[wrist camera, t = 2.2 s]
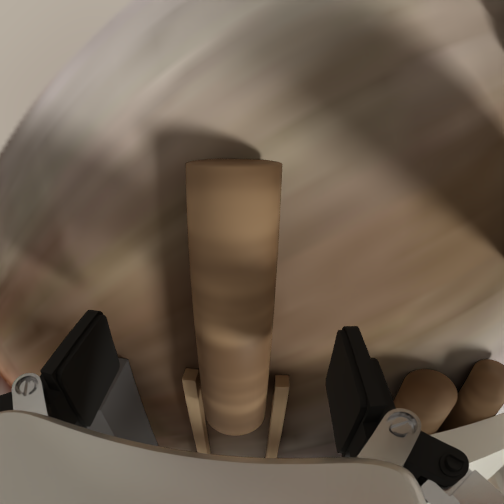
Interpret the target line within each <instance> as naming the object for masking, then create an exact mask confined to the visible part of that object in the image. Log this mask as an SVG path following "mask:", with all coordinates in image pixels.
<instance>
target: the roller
mask: <svg viewBox="0 0 504 504" xmlns="http://www.w3.org/2000/svg"><path fill="white" fill-rule="evenodd" d="M281 181H282V163H280V162H276V161H269V160H260V159H204V160H196V161H190V162H187V163H186V201H187V226H188V246H189V263H190V277H191V291H192V303H193V314H194V325H195V335H196V345H197V354H198V363H199V371H200V379H201V387H202V395H203V402H204V409H205V416H206V419H207V422H208V423H209V424H210V426H211V427H212V428H214V429H215V430H216V431H218V432H220V433H223V434H226V435H233V436H238V435H244V434H248V433H250V432H253V431H254V430H256V429H257V428H258V427H259V426H260V425H261V424H262V422H263V420H264V418H265V410H266V399H267V388H268V377H269V366H270V354H271V341H272V328H273V315H274V301H275V287H276V272H277V256H278V239H279V221H280V202H281Z"/></svg>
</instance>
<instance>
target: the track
mask: <svg viewBox="0 0 504 504" xmlns="http://www.w3.org/2000/svg"><path fill="white" fill-rule="evenodd" d="M182 382H183V388H184V393H185V398H186V403H187V408H188V413H189V417H190V422H191V427H192V431H193V436H194V440H195V444H196V448H197V453H205V454H211V451H210V446H209V440H208V433H207V427H206V421H205V414H204V407H203V400H202V393H201V385H200V377H199V370H198V369H189V368H186V369H185V372H184V375H183V378H182ZM288 393H289V375H275V383H274V392H273V401H272V409H271V418H270V426H269V434H268V442H267V449H266V457H265V458H277V454H278V449H279V443H280V438H281V433H282V427H283V422H284V416H285V410H286V405H287V399H288ZM393 402H394V405H395V407H396V409H397V408H403V409H407V410H410V411H412V412H414V413H415V414H416V415H417V416H418V417H419V419H420V421H421V431H423V432H425V433H427V434H429V435H431V434H435V433H440V432H444V431H448V430H451V429H455V428H459V427H462V426H466V425H469V424H472V423H476V422H479V421H482V420H485V419H488V418H491V417H493V416H495V415H496V414H497V412H498V411H499V410H500V408H501V407H502V405H503V404H504V365H503V364H501V363H499V362H497V361H494V360H489V359H484V360H480V361H478V362H477V363H476V364H475V365H474V367H473V369H472V371H471V372H470V374H469V376H468V378H467V379H466V381H465V383H464V385H463V386H462V388H461V390H460V391H459V393H458V395H457V390H456V387H455V385H454V384H453V382H452V381H451V380H450V379H449V378H448V377H447V376H445V375H444V374H442V373H440V372H438V371H435V370H430V369H419V370H415V371H413V372H411V373H409V374H408V375H407V376H406V377H405V379H404V381H403V383H402V385H401V387H400V389H399V391H398V393H397V395H396V397H395V399H394V401H393Z"/></svg>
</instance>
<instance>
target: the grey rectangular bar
mask: <svg viewBox="0 0 504 504" xmlns="http://www.w3.org/2000/svg"><path fill="white" fill-rule="evenodd" d="M118 359H119V363H120V367H119V371H118V373H117V374H116V376H115V378H114V380H113V382H112V384H111V386H110V388H109V390H108V392H107V394H106V396H105V398H104V400H103V402H102V404H101V406H100V408H99V410H98V412H97V414H96V416H95V418H94V420H93V422H92V424H91V426H90V427H87V429H90V430H93V431H97V432H100V433H104V434H107V435H111V436H115V437H118V438H122V439H127V440H131V441H135V442H140V443H144V444H149V445H154V446H158V444H157V441H156V439H155V436H154V434H153V431H152V429H151V426H150V424H149V421H148V418H147V416H146V413H145V410H144V407H143V405H142V402H141V399H140V396H139V393H138V390H137V387H136V384H135V381H134V378H133V375H132V371H131V368H130V365H129V361H128V359H122V358H118Z"/></svg>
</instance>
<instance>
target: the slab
mask: <svg viewBox="0 0 504 504" xmlns="http://www.w3.org/2000/svg"><path fill="white" fill-rule="evenodd" d="M431 436H433V437H434V438H437V439H439V440H441V441H443V442H445V443H447V444H449V445H451V446H453V447H455V448H457V449H459V450H461V451H462V452H464V453H465V455H466V456H467V458H468V460H469V469H470V470H471V471H474V470H476V471H477V472H479V473H480V474H481V475H482V476H483V477H484V478H485V479H486V480H488V479H489V478H490V477H491V476H492V475H494V474H495V473H496V472H497V471H498V470H499V469H500V468H501V467H502V466H503V465H504V413H502V414H499V415H496V416H493V417H491V418H488V419H485V420H482V421H479V422H476V423H472V424H469V425H466V426H462V427H459V428H455V429H451V430H448V431H444V432H440V433H435V434H431ZM426 504H430V503H426Z"/></svg>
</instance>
